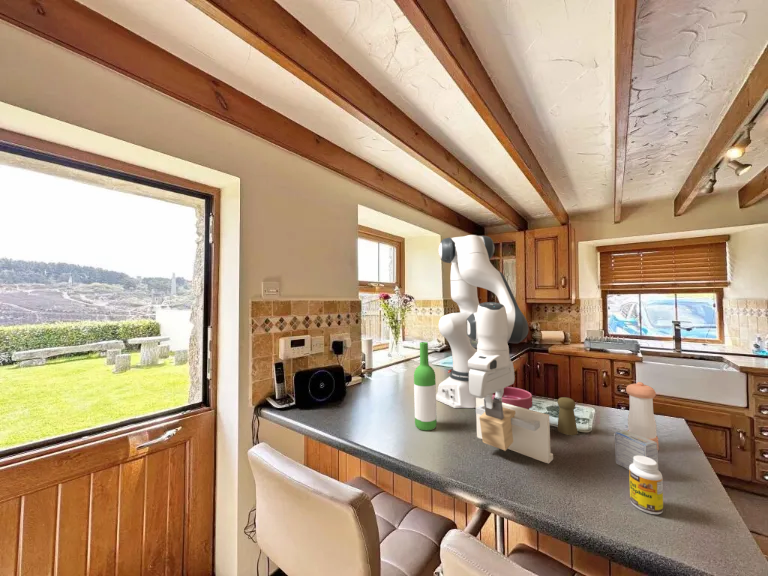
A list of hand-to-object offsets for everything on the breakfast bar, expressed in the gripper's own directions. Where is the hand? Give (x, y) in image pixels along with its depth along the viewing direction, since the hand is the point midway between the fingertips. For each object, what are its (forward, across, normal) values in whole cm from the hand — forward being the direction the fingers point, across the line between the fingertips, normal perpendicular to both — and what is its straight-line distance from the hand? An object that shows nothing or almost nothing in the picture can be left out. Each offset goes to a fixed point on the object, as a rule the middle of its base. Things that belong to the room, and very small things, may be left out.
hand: (494, 405), depth 89 cm
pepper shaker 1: (+15, -32, +9) cm, 36 cm away
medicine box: (+15, -20, +29) cm, 38 cm away
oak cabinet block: (+11, -3, 0) cm, 11 cm away
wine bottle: (+15, -1, -27) cm, 31 cm away
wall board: (+15, -7, +1) cm, 16 cm away
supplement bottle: (+15, -4, +33) cm, 36 cm away
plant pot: (+15, -20, -5) cm, 25 cm away
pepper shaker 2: (+15, -37, +28) cm, 49 cm away
